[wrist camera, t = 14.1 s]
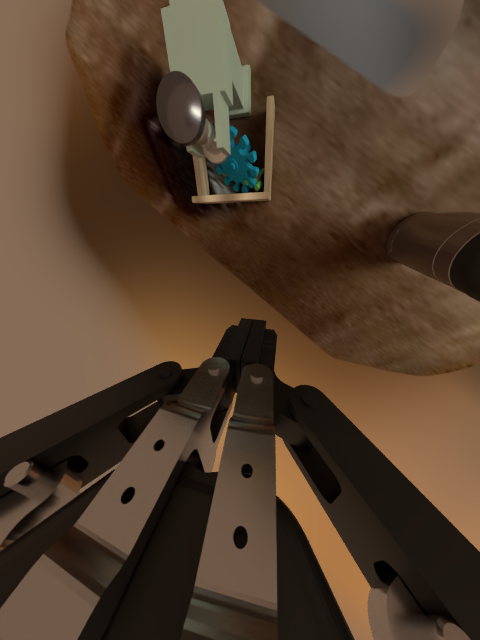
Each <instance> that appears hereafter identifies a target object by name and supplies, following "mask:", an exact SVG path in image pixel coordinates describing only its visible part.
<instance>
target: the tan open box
mask: <svg viewBox="0 0 480 640" xmlns="http://www.w3.org/2000/svg"><path fill="white" fill-rule="evenodd" d="M274 118H275V104H274V96H268V97H267V112H266V144H265V176H264V192H255V193H239V194H223V195H209V185H208V175H207V166H206V156H205V154H204V152H203V157H204V158H197V157H195V156H194V155H193V161H194V169H195V177H196V184H197V192H198V196H192V202H193V203H203V204H212V203H231V202H251V201H270V200H271V180H272V159H273V138H274Z"/></svg>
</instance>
